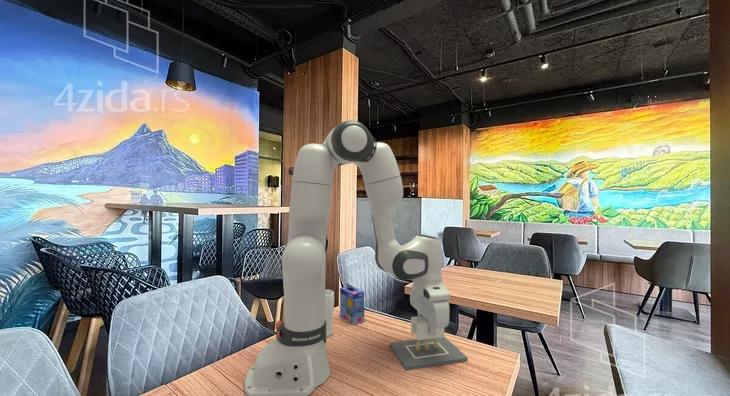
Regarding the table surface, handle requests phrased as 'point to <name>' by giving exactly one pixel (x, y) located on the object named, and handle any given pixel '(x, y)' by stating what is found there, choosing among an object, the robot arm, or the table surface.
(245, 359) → the table surface
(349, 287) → the ink cartridge box
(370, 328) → the table surface
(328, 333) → the drinking glass
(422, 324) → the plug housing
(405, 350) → the board
